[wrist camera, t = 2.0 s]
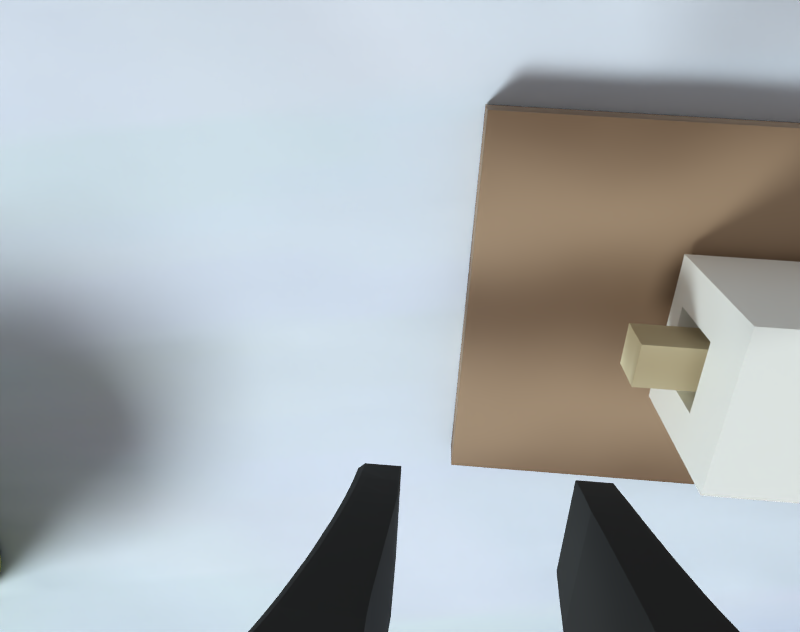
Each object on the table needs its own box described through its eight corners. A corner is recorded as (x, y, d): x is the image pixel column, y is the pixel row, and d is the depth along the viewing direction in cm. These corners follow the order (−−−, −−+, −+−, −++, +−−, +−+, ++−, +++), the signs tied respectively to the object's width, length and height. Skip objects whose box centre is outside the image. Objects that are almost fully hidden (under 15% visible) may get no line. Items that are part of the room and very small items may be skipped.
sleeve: (823, 408, 19) (921, 513, 15) (648, 395, 19) (700, 495, 15) (879, 267, 17) (1008, 344, 13) (684, 254, 17) (754, 326, 13)
